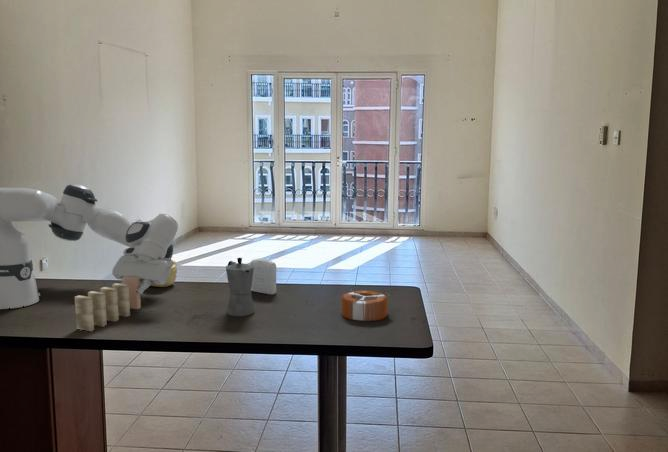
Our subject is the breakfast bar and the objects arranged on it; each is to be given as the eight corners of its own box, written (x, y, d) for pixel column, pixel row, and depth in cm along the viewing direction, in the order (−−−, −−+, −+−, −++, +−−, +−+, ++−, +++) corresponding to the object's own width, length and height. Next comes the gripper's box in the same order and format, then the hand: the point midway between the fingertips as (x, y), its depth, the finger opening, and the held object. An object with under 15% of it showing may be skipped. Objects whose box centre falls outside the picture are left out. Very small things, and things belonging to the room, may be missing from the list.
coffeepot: (263, 315, 183) (262, 259, 180) (235, 320, 178) (234, 263, 175) (242, 303, 196) (241, 251, 193) (216, 307, 191) (215, 254, 188)
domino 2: (89, 324, 174) (87, 292, 172) (93, 322, 175) (91, 291, 173) (102, 326, 172) (100, 294, 170) (106, 325, 173) (104, 292, 172)
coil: (348, 306, 194) (391, 310, 190) (335, 319, 180) (381, 324, 175) (348, 286, 193) (392, 289, 189) (335, 298, 179) (382, 302, 174)
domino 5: (125, 307, 187) (123, 277, 186) (128, 305, 189) (127, 276, 187) (137, 309, 185) (135, 278, 184) (140, 307, 187) (139, 277, 185)
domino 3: (102, 319, 178) (100, 288, 177) (106, 318, 180) (104, 286, 178) (114, 321, 176) (113, 290, 175) (118, 320, 178) (116, 288, 176)
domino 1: (76, 329, 169) (74, 296, 167) (81, 327, 171) (78, 295, 169) (89, 331, 167) (87, 298, 166) (94, 330, 169) (91, 297, 167)
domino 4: (114, 314, 183) (112, 284, 181) (117, 313, 184) (115, 283, 183) (126, 316, 181) (124, 285, 179) (130, 315, 182) (128, 284, 181)
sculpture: (172, 289, 212) (171, 261, 211) (140, 289, 213) (138, 260, 211) (181, 281, 224) (180, 254, 222) (150, 281, 224) (149, 254, 222)
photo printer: (278, 292, 209) (278, 259, 207) (271, 295, 205) (270, 261, 203) (255, 288, 214) (254, 256, 212) (248, 291, 210) (247, 258, 208)
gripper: (179, 264, 191) (161, 300, 184) (130, 258, 199) (111, 293, 192) (170, 253, 187) (151, 290, 179) (120, 248, 194) (100, 283, 187)
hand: (130, 292), depth 186 cm, fingers closed on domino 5, 5 cm apart
